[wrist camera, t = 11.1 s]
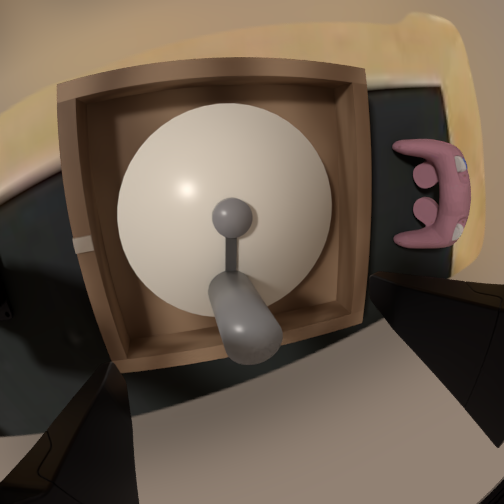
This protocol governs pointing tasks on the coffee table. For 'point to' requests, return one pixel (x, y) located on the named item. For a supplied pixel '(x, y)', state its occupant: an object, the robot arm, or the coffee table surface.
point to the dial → (226, 219)
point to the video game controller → (450, 193)
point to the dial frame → (152, 118)
